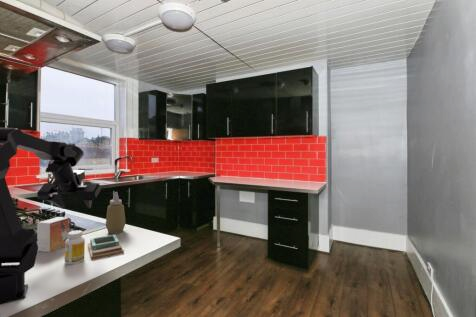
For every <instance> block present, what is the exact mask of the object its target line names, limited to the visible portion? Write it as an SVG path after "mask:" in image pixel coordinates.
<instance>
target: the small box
mask: <svg viewBox="0 0 476 317" xmlns="http://www.w3.org/2000/svg"><path fill="white" fill-rule="evenodd" d="M36 228H37V230H36V235H37V237H36V238H37V239H38V241H36V242H37V245H38V252H43V253H44V252H46V253H51V252H53V251H56V250H58V249H60V248H63V247H64V248H65V241H66V240H67V239H68V233H69V232H70V218H69V217H64V216H63V217H62V216H55V217H53V218H50V219H45V220H41V221H37V224H36Z"/></svg>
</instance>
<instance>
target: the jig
mask: <svg viewBox="0 0 476 317" xmlns="http://www.w3.org/2000/svg"><path fill="white" fill-rule="evenodd" d="M87 247H88V253H89V256H90V260H91V261H92V260H98V259H103V258H107V257H111V256H117V255H121V254H124V253H125V252H124V251H125V250H124V247H122V245H121V243H120V240H119V239H118V237H117V235H116V234H110V235H105V236H97V237H92V238H91V237H90V241H89V243H88V242H87Z"/></svg>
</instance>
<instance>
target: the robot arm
mask: <svg viewBox="0 0 476 317" xmlns="http://www.w3.org/2000/svg"><path fill="white" fill-rule="evenodd" d="M18 149H19V150H23V151H26V152H30V153H32V154H35V155H34V156H35V157H37V158H38V159H41V160H42V161H50V163H48V164H47V167H46V168H45V173H51V175H52V176H53V179H54V180H53V182H52V183H51V182H49V183H48V182H46V183H44V184H43V185H42V186H41V187H40V189H38V191H37V192H36V195H37V198H38V199H39V200H43V201H45V202H48V203H50V204H52V205H55V206H57V207H58V208H60V209H62V210H63V209H64V208H65V202H64V200H63V198H62V196H61V195H74V194H81V195H82V198H83V202H84V203H85V205H86V207H87V208H88V209H91V208H92V204H93V203H92V202H93V200H95V199H96V198H97V197H98V195H99V194H100V192H101V190H102V186H101V184H100V183H87V184H86V186H81V185H82V183H83V182H82V181H83V180H85V179H86V173H85V170H83V169H79V170H76V169H75V170H74V169H73V168H74V167H75V166H77V164H78V163H79V162H80V161H81V159H82V158H83V156H85V155H84V154H85V153H84V150H82V149H81V147H79V146H77V145H76V143H73V142H72V143H70V142H69V143H68V144H67V143H66V142H62V141H50V140H46V139H44V138H41V137H38V136H35V135H33V134H29V133H27V132H25V131H22V130H21V129H19V128H15V127H0V305H1V304H5V303H9V302H13V301H17V300H20V299H21V300H22V299H24V298H26V295H27V292H28V287H29V284H27V283H26V282H25V280H26V278H25V274H26V273H27V272H28V271H30V270H31V269H33V268H34V267H35V264H36V261H37V260H36V259H37V255H38V252H39V251H38V245H37V241H38V239H37V237H36V231H35V230H34V228H23V227H22V224H21V221H20V219H19V216H18V213H17V209H16V207H15V204H14V201H13V198H12V195H11V192H10V189H9V187H8V184H7V181H6V176H7V174H8V171H9V169H10V168H11V163H10V160H11V159H12V158H13V157H15V155H17V153H18ZM17 263H18V264H17ZM25 283H26V284H25Z"/></svg>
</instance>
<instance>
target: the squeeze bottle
mask: <svg viewBox="0 0 476 317" xmlns="http://www.w3.org/2000/svg"><path fill="white" fill-rule="evenodd" d="M122 203H123V202H122V199H120V198H119V194H118V191H115V192H114V193H113V198H112V199H110V200H109V205H108V206H107V210H106V218H105V227H106V229H107V230H106V231H107V232H108V234H110V235H116V234H120V233H122V232H124V229H125V227H126V215H125V214H126V213H125V206H124V204H122Z"/></svg>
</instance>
